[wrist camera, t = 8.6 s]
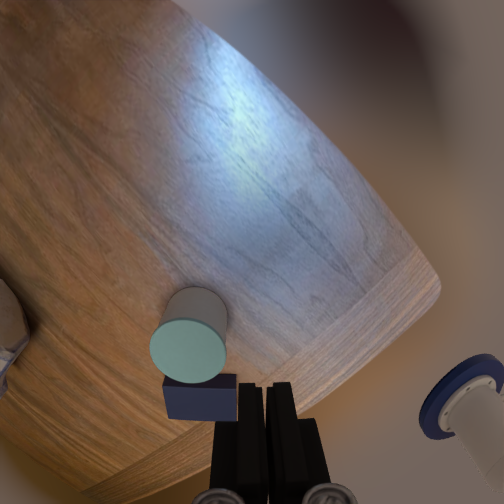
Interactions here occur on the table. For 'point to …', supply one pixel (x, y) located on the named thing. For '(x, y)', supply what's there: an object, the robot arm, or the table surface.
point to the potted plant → (10, 332)
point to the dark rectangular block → (202, 399)
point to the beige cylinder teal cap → (191, 336)
